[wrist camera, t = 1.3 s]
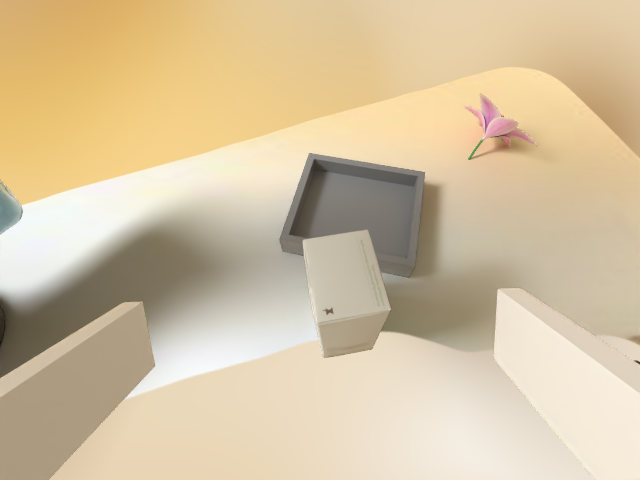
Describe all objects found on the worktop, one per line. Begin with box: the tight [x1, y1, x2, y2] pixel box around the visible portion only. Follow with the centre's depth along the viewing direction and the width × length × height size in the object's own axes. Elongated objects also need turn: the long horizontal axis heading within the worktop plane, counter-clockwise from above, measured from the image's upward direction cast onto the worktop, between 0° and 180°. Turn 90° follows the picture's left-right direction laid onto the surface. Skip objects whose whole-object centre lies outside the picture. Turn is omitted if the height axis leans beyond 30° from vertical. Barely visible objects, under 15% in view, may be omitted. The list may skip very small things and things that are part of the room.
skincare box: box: [303, 230, 391, 358], centre depth 34 cm, size 8×7×16 cm
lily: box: [463, 93, 538, 160], centre depth 51 cm, size 12×12×10 cm
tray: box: [280, 153, 425, 278], centre depth 47 cm, size 18×16×4 cm
